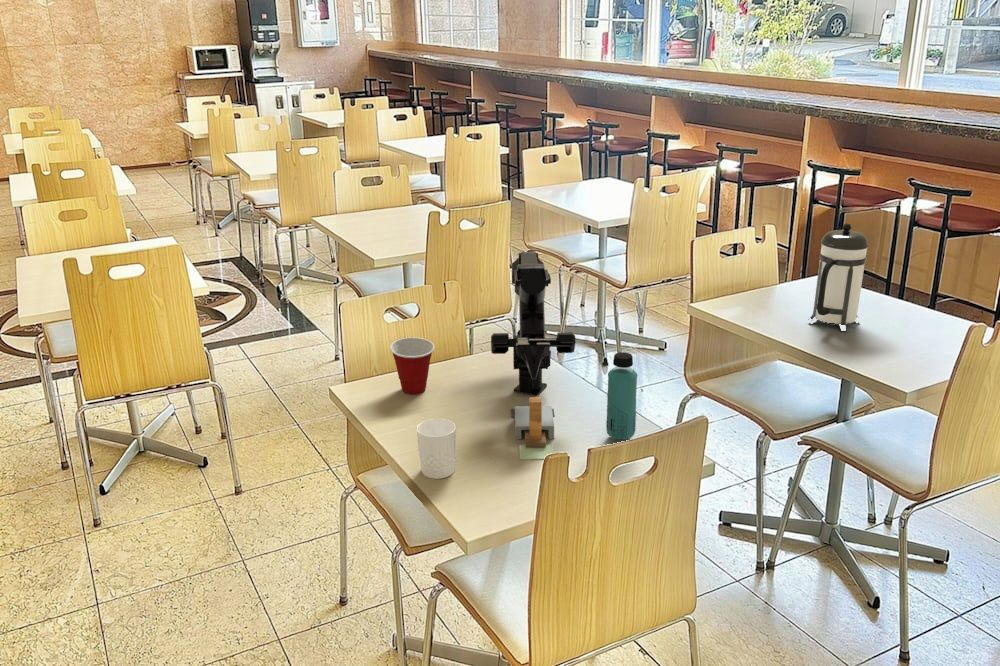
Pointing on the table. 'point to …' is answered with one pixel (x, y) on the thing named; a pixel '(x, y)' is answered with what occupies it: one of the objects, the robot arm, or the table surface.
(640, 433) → the table surface
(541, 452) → the pad
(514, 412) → the pit
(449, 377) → the table surface
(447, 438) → the white cup
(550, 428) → the tunnel
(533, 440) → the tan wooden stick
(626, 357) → the beverage bottle
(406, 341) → the plastic cup
